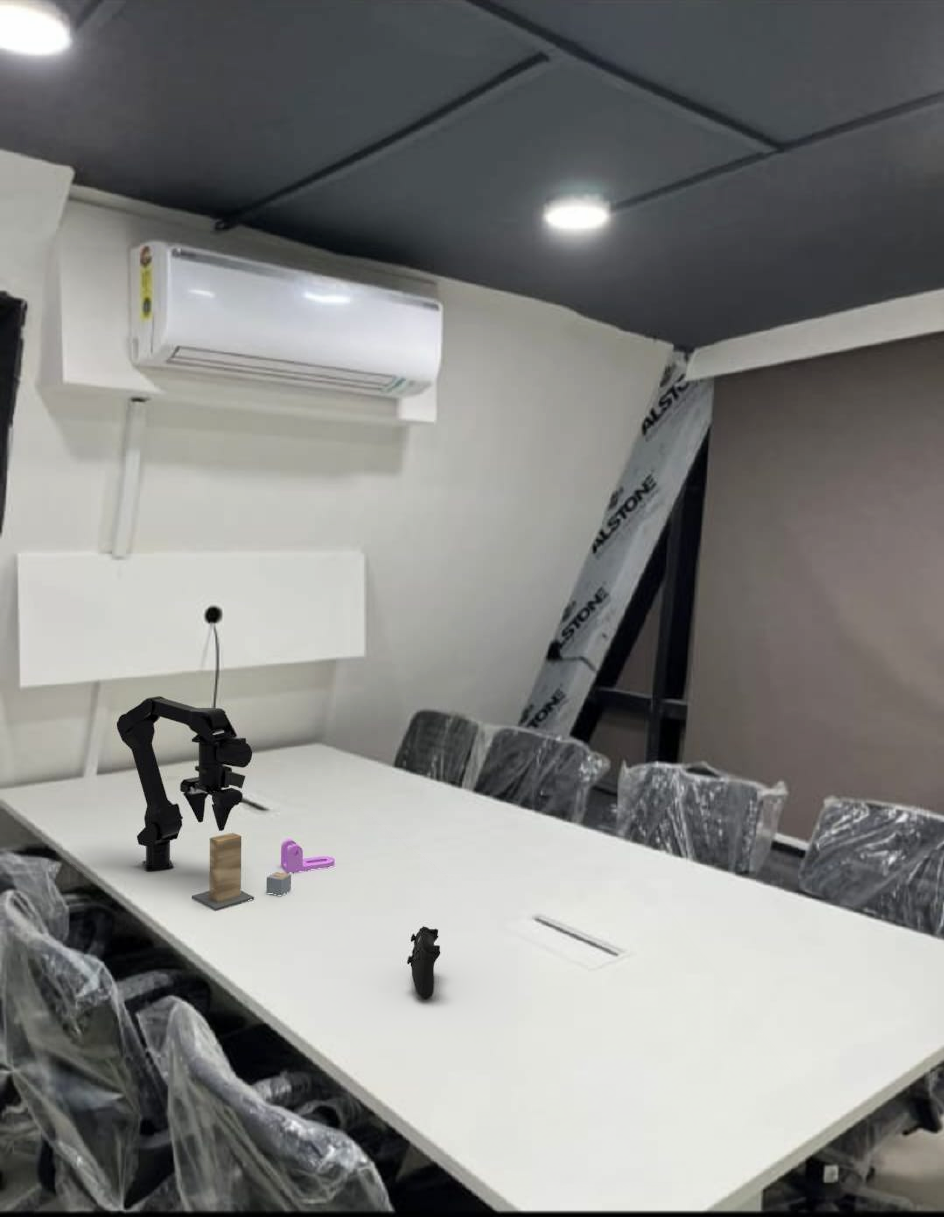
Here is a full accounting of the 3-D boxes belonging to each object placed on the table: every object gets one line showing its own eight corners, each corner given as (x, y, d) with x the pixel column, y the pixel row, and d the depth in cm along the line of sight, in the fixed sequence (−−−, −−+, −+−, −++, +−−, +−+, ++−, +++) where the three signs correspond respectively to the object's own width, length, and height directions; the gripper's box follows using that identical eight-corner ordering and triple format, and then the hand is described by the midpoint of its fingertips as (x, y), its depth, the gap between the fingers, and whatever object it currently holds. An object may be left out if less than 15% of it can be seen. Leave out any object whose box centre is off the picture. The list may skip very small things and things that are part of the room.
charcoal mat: (191, 898, 227) (191, 895, 227) (229, 887, 234) (229, 884, 234) (215, 910, 220) (215, 908, 220) (254, 899, 227) (254, 896, 227)
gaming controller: (405, 967, 194) (407, 918, 193) (436, 967, 195) (438, 918, 194) (406, 1002, 180) (408, 949, 179) (440, 1002, 181) (441, 948, 180)
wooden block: (209, 898, 225) (209, 837, 224) (232, 891, 230) (232, 832, 228) (217, 902, 223) (218, 841, 222) (240, 895, 227) (241, 836, 226)
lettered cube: (266, 893, 231) (266, 876, 231) (276, 888, 235) (276, 871, 234) (281, 896, 229) (281, 879, 229) (290, 891, 233) (291, 873, 233)
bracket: (287, 874, 244) (288, 846, 244) (280, 867, 249) (281, 840, 249) (337, 867, 250) (338, 840, 250) (329, 860, 255) (330, 833, 255)
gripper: (262, 763, 236) (261, 828, 237) (219, 750, 249) (219, 811, 250) (221, 771, 228) (220, 837, 229) (179, 757, 241) (179, 820, 242)
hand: (210, 826), depth 238 cm, fingers open, 9 cm apart
